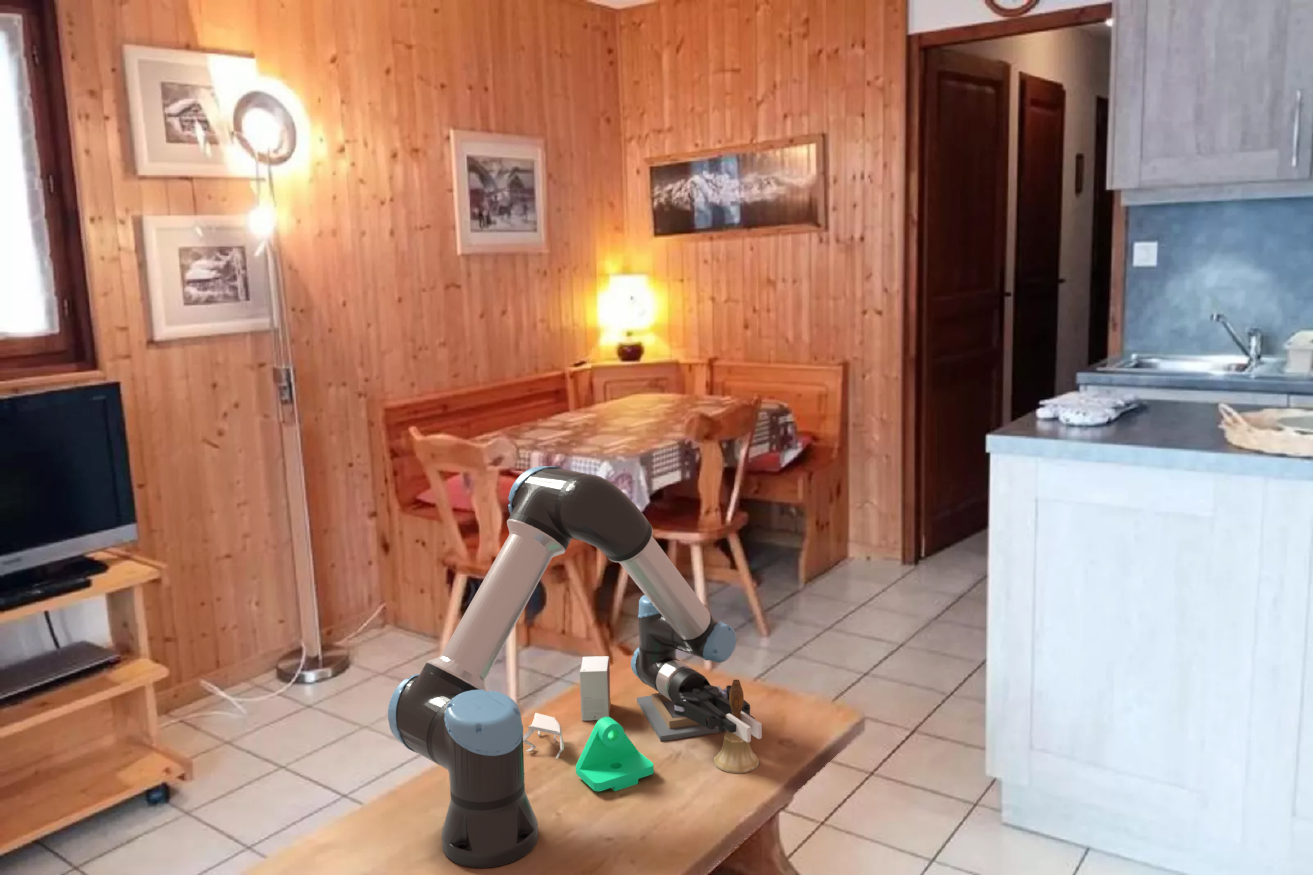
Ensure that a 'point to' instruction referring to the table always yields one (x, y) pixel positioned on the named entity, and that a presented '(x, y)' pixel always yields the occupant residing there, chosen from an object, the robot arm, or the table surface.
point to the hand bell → (736, 741)
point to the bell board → (670, 719)
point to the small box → (595, 687)
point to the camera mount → (611, 758)
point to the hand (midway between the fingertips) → (754, 733)
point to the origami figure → (544, 729)
